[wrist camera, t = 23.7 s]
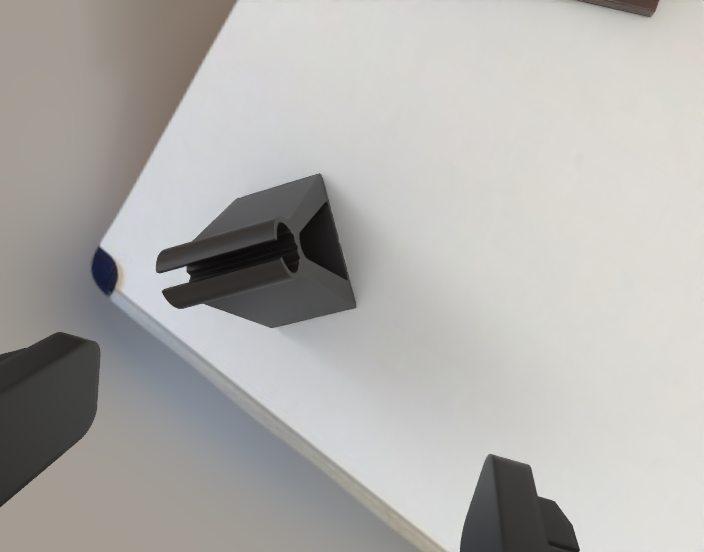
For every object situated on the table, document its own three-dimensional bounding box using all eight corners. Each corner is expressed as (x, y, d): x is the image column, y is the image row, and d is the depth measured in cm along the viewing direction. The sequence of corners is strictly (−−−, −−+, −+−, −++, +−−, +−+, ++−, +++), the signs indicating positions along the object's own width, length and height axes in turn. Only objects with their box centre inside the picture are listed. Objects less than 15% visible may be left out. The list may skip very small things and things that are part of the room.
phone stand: (239, 198, 36) (131, 186, 24) (322, 173, 35) (251, 148, 23) (273, 326, 36) (184, 375, 25) (357, 307, 35) (304, 349, 23)
